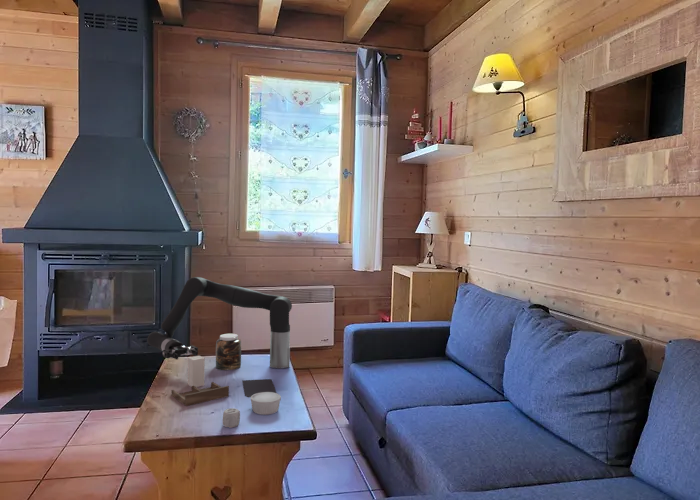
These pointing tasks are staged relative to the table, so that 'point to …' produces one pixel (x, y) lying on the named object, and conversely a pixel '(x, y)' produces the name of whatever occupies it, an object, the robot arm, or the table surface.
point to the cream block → (196, 371)
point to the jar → (228, 352)
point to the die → (231, 417)
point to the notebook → (258, 386)
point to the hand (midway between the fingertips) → (187, 355)
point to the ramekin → (265, 403)
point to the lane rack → (201, 394)
